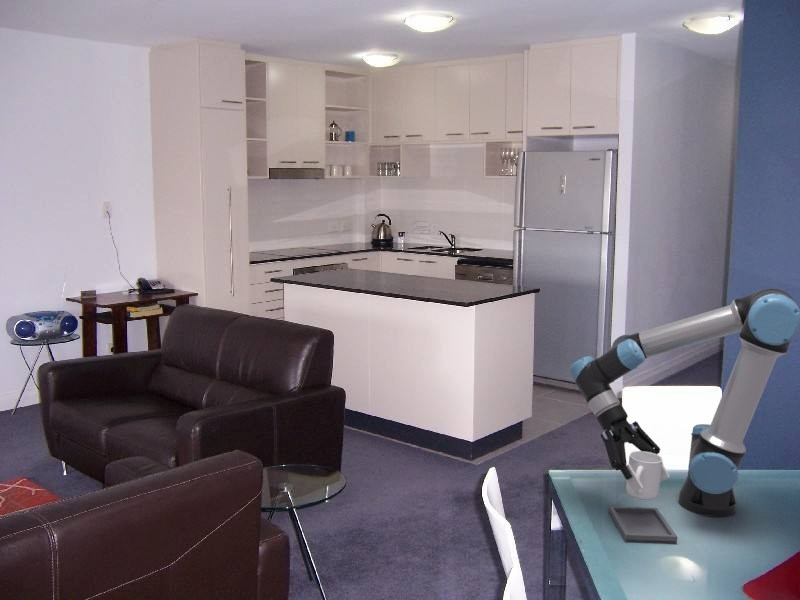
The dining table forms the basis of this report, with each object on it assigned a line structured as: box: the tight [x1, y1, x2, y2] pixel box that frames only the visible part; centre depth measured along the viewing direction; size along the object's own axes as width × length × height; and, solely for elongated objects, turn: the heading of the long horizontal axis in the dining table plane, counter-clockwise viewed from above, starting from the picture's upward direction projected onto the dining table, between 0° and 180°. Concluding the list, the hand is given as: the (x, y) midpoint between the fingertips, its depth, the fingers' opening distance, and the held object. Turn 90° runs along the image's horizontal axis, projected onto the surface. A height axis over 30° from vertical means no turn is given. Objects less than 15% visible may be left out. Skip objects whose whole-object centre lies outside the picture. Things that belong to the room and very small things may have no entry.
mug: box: [625, 450, 663, 501], centre depth 211 cm, size 12×8×10 cm
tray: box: [608, 505, 678, 545], centre depth 213 cm, size 13×17×2 cm
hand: (652, 484), depth 209 cm, fingers closed on mug, 11 cm apart
